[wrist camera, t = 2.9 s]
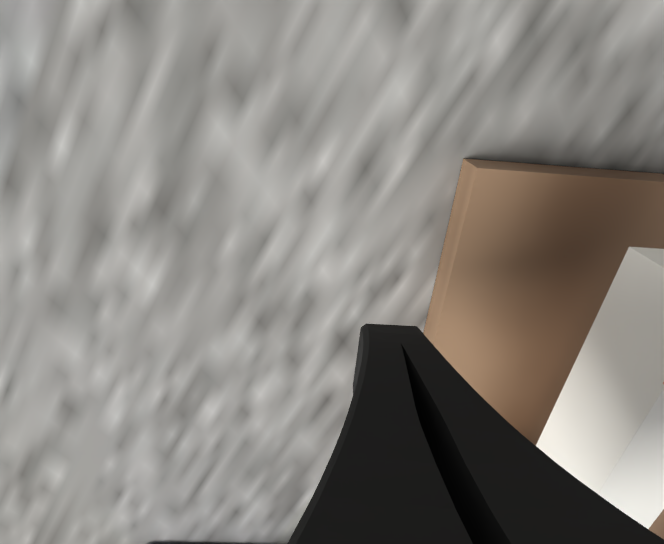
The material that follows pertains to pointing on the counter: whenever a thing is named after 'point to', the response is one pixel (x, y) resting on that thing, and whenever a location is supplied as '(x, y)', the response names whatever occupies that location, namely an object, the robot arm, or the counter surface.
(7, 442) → the counter surface
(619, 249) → the board
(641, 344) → the white long piece
